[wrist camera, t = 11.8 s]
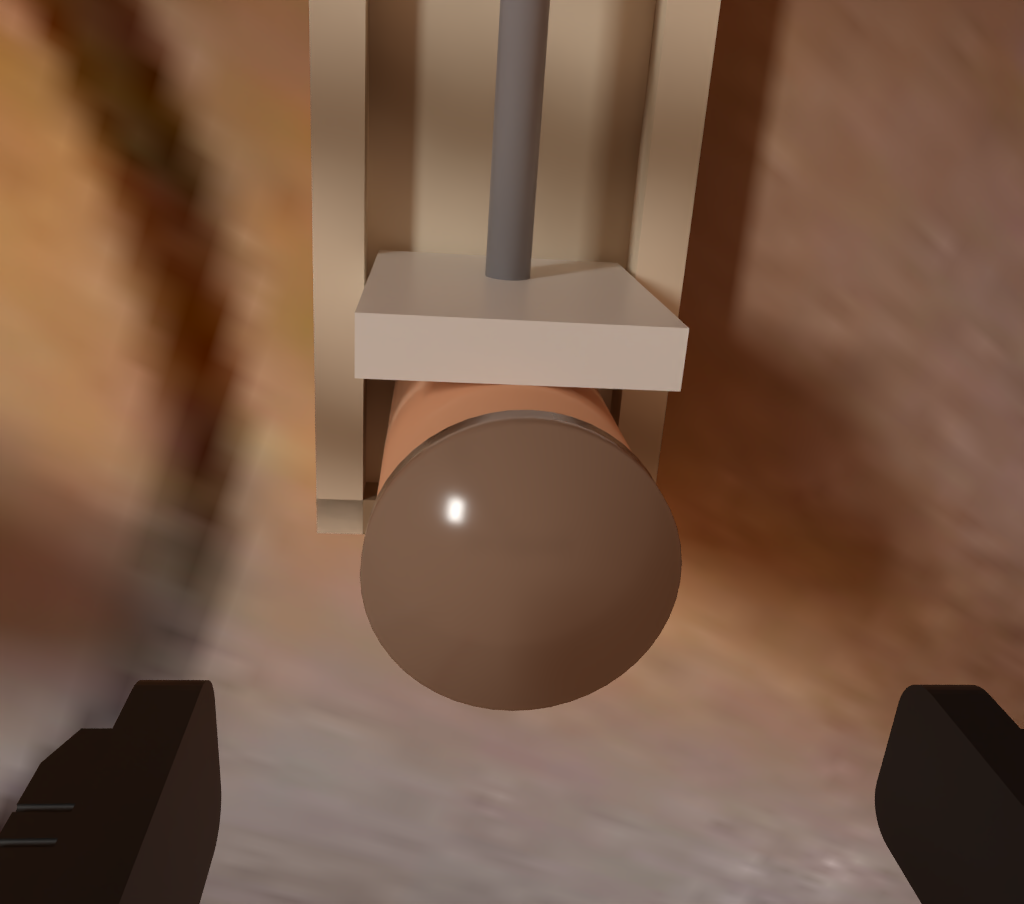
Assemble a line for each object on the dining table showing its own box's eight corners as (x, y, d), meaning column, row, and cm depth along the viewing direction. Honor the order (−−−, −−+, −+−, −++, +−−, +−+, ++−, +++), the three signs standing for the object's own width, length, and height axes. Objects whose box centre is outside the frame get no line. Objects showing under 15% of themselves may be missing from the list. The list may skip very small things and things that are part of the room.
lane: (316, -501, 18) (198, -1080, 9) (751, -444, 19) (1026, -921, 10) (326, 498, 26) (268, 705, 17) (632, 507, 27) (727, 707, 18)
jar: (391, 291, 23) (361, 419, 14) (600, 303, 23) (702, 432, 14) (388, 485, 25) (358, 709, 16) (580, 491, 25) (659, 711, 16)
